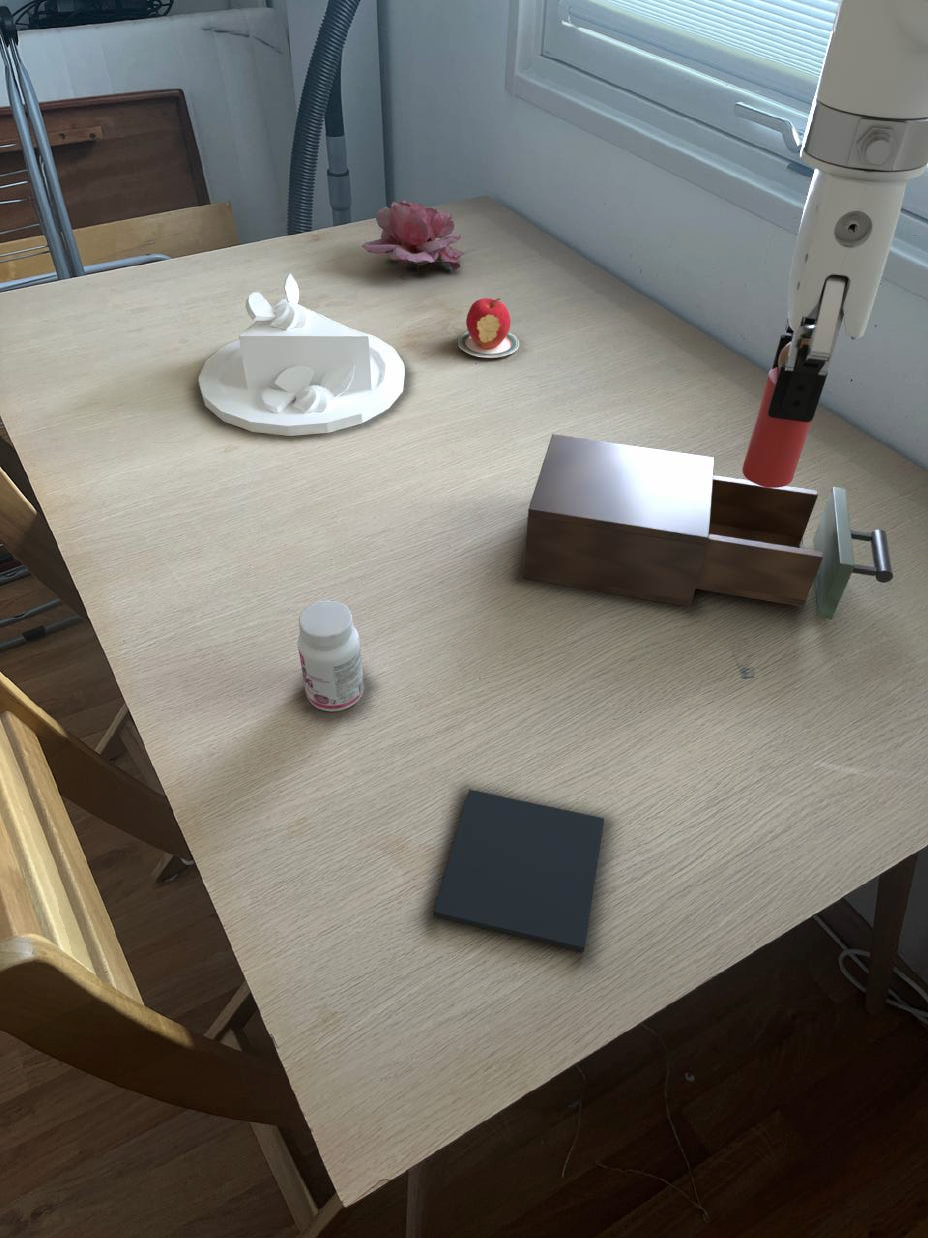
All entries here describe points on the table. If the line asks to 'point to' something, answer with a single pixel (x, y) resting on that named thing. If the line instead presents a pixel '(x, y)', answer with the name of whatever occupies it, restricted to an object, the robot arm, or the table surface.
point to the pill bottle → (330, 656)
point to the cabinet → (620, 519)
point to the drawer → (783, 545)
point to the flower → (415, 235)
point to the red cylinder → (774, 439)
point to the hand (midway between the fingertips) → (789, 399)
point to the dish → (299, 372)
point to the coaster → (522, 870)
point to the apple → (488, 330)
